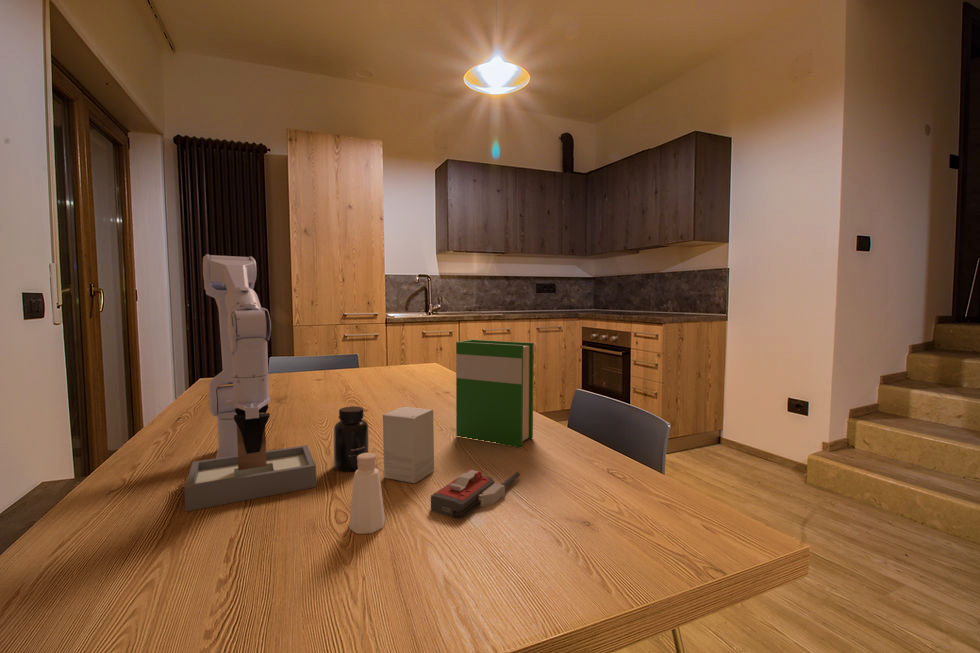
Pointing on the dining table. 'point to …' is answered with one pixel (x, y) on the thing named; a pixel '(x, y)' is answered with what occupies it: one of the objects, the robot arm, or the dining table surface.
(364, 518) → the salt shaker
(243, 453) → the wooden peg
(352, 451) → the supplement bottle
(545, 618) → the dining table surface
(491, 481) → the walkie-talkie
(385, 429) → the supplement box
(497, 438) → the hardback book
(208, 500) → the open box
